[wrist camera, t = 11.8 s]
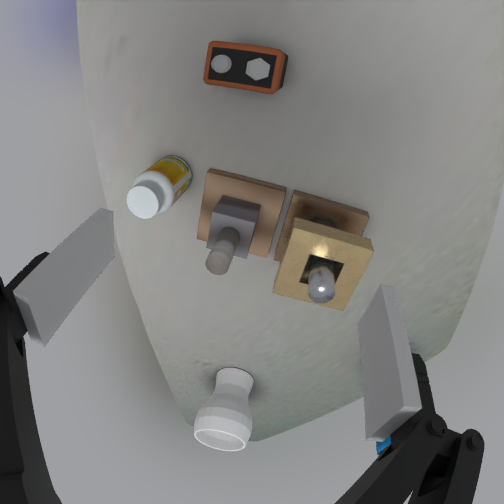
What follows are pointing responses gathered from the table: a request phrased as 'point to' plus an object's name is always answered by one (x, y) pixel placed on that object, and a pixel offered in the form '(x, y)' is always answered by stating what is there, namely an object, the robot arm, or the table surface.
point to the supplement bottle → (159, 187)
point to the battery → (245, 67)
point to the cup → (226, 412)
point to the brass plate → (327, 246)
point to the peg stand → (328, 215)
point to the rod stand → (237, 217)
